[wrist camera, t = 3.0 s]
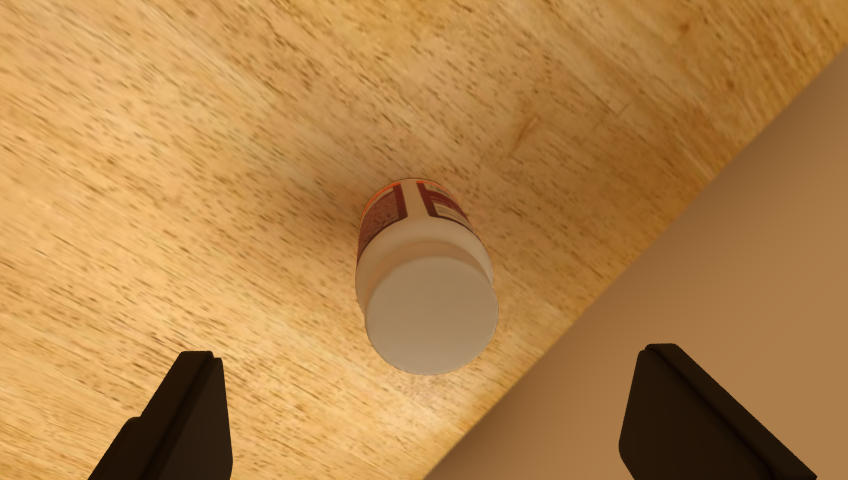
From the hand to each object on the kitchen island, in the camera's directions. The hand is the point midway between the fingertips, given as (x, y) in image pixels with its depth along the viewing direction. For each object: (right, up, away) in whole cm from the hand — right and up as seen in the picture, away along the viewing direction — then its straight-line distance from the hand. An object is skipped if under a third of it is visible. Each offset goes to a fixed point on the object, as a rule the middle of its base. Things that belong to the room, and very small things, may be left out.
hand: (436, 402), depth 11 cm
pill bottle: (-1, +4, +12) cm, 12 cm away
